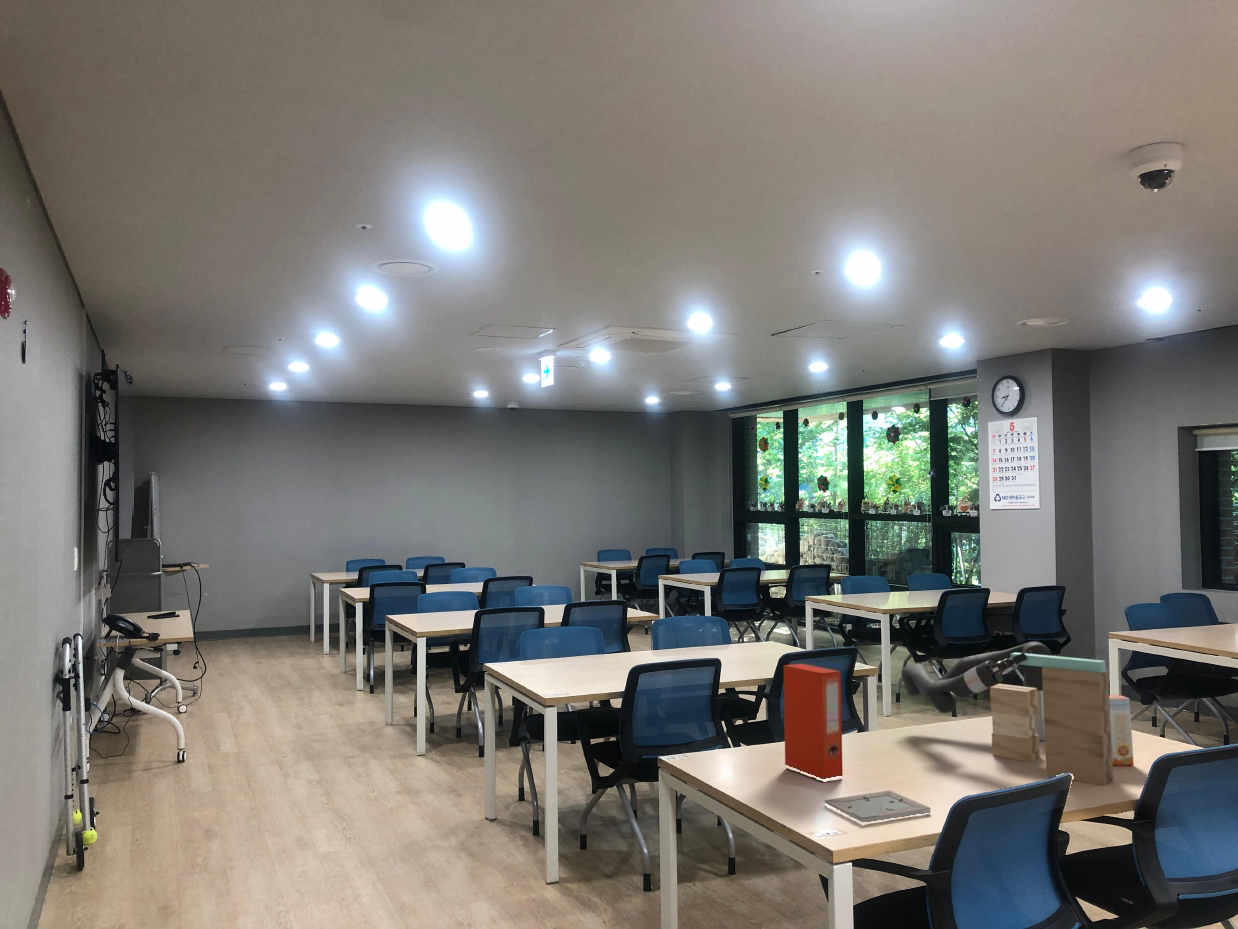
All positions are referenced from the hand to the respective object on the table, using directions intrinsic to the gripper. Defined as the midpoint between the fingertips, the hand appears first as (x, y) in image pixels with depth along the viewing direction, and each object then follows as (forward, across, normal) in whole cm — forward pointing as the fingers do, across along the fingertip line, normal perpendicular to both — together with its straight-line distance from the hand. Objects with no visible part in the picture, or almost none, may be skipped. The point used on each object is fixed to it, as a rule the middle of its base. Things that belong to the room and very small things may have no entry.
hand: (1028, 654), depth 275 cm
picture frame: (-32, +68, -23) cm, 78 cm away
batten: (+6, 0, -7) cm, 9 cm away
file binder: (-58, +50, -7) cm, 77 cm away
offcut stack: (-26, -12, -25) cm, 38 cm away
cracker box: (-5, -22, -38) cm, 44 cm away
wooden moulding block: (-6, 0, -37) cm, 37 cm away
